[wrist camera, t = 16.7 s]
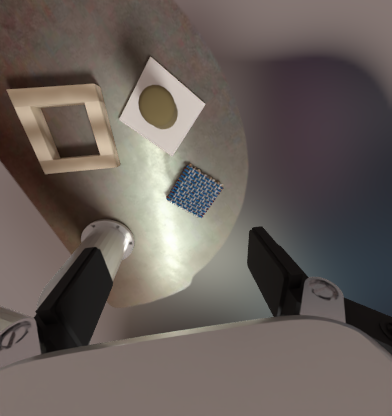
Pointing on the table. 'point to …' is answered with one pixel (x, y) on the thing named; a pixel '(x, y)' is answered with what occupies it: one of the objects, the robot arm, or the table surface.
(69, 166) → the wooden holder
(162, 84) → the ceramic tile
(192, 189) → the woven mat
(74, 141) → the table surface
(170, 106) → the cork
